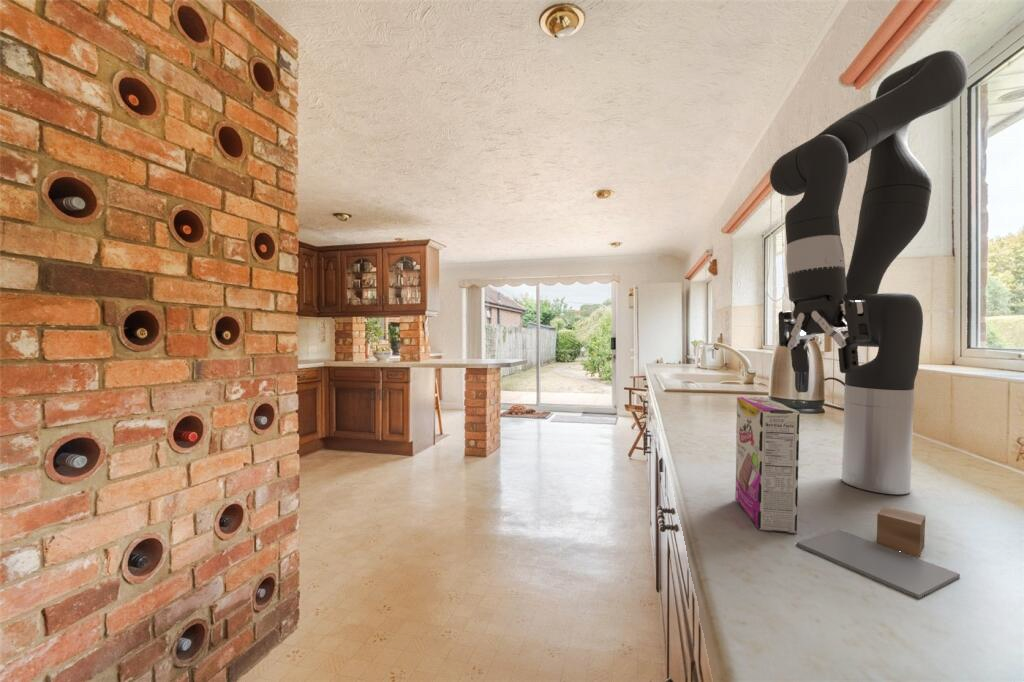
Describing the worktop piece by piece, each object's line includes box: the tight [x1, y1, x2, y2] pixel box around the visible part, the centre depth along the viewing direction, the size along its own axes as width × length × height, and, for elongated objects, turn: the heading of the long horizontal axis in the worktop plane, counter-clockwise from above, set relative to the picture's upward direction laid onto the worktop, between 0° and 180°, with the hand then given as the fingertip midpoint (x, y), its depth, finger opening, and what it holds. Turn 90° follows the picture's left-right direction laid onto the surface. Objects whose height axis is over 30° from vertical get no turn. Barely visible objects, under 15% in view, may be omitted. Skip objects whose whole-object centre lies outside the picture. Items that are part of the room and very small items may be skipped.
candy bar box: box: [734, 396, 801, 534], centre depth 63 cm, size 11×5×16 cm, turn 168°
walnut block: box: [875, 505, 926, 558], centre depth 55 cm, size 4×4×4 cm
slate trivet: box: [795, 528, 960, 599], centre depth 52 cm, size 9×12×1 cm
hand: (823, 372), depth 69 cm, fingers open, 8 cm apart
